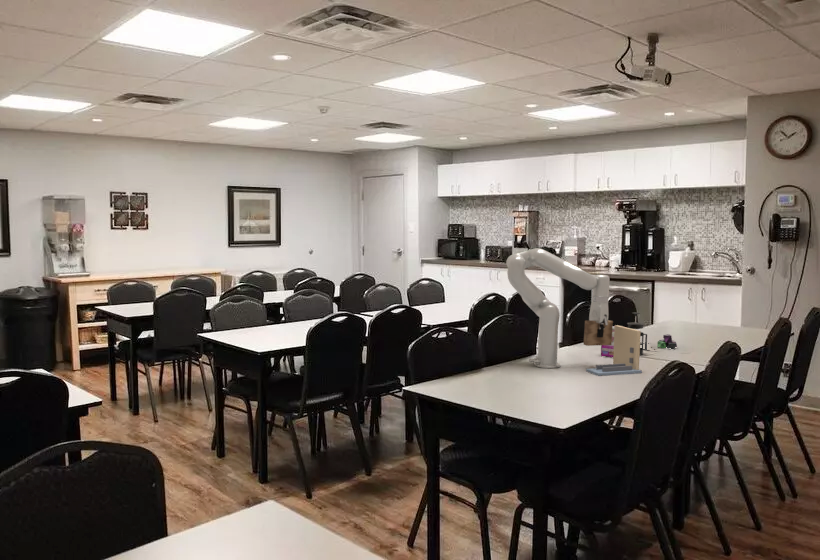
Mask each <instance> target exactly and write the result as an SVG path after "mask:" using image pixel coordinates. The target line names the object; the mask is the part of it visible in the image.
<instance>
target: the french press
mask: <svg viewBox="0 0 820 560" xmlns="http://www.w3.org/2000/svg"><path fill="white" fill-rule="evenodd" d="M631 313H632V314H634V317H635V318H634V319H635V321H634V322H627V323H626V324H627V328H631V329H635V330H641V329H644V326H645V324H644V323H641V322H637V316H638V315H641V313H640V312H635V311H634V312H631ZM644 336H645V337H644ZM640 337H641V341H640V345H642V348H640V357H641V356H644V351H647V342H648V334H647V333H644V332H642V331H641V333H640ZM644 338H645V343H643V342H644ZM643 344H645V349H643Z"/></svg>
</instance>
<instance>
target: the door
mask: <svg viewBox="0 0 820 560" xmlns="http://www.w3.org/2000/svg"><path fill="white" fill-rule="evenodd" d="M601 323H603V322H601ZM607 323H608V325H607V326H605V329H604V333H603V337H597V331H598V323H596V321H592V320H589V319H588V320H584V331H583V345H584V346H587V347H588V346H591V347H592V346H594V347H595V346H601V345H611V343H612V328H613V325H614V324H613V323H614V321H613V320H609V319H608V322H607ZM601 325H602V324H601Z"/></svg>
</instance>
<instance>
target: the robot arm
mask: <svg viewBox="0 0 820 560" xmlns="http://www.w3.org/2000/svg"><path fill="white" fill-rule="evenodd" d="M505 262H506V263H505V264H506V266H507V272H506V273H507V280H508V282H509V284H510V285H511V287H512V288H513V289H514V290H515V291H516V292H517V293H518V295H520V297H521V299H522V301H523V302H524V303H525V304H526V306H528V308H530V310H532V312H534V313H535V315H536V316H537V317H539V318H538V319H539V320H538V321H539V323H538V333H537V335H538V336H537V337H538V339H537V355H536V356H535V357H534V358H533V357H532V358H528V363H534V366H535V367H538V368H544V369H557V368H561V364H560V363H559V362H558V349H559V348H558V345H559V344H558V341H559V322H560V316H561V315H560V314H561V313H560V309H559V307H558V306H557V305H556V304H555V303H553V302H551V301H550V300H549V299H548V298H547V297H546V296H545V295H544V293H543V292H542V290H541V289H540V288H539V287H537V286H536V284H535V283H534V282H532V281H531V279H530V278H529V277H528V276H527V274H526V273H525V270H526V269H527V268H528V269H529V268H531V267H534V266H536V267H539V268H541V269H543V270H545V271H547V272H548V273H550V274H553V276H556V277H558V278H560V279H564V280H566V281H569V282H571V283H573V284H575V285H576V286H579V287H580V288H581V289H583V290H586V291H591V290H592V300H591V303H590V307H589V316H588V320H592V321H596V323H598V331H597V337H603V333H604V329H605V326H607V325H608V323H607V322H608V320H609V296H610V295H609V293H610V292H609V291H610V276H609V275H607V274H591V273H589V272H588V271H585V270H583V269H581V268H579V267H578V266H575V265H573V264H571V263H570V262H568V261H566V260H565V259H563V258H561V257H559V256H557V255H555V254H553V253H551V252H549V251H547V250H545V249H543V248H539V247H538V248H537V247H535V248H532V249H528V250H525V251H521V252H517V253H514V254H511V255H509V256H508V257H507V259H506V261H505ZM601 322H603V323H601ZM601 324H602V325H601Z"/></svg>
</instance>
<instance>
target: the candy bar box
mask: <svg viewBox="0 0 820 560" xmlns="http://www.w3.org/2000/svg"><path fill="white" fill-rule="evenodd" d="M614 329H615V325H614V326H613V328H612V343H611V345H600V356H601V357H602V356H606V357H605V358H612V357H613V355H614Z"/></svg>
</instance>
